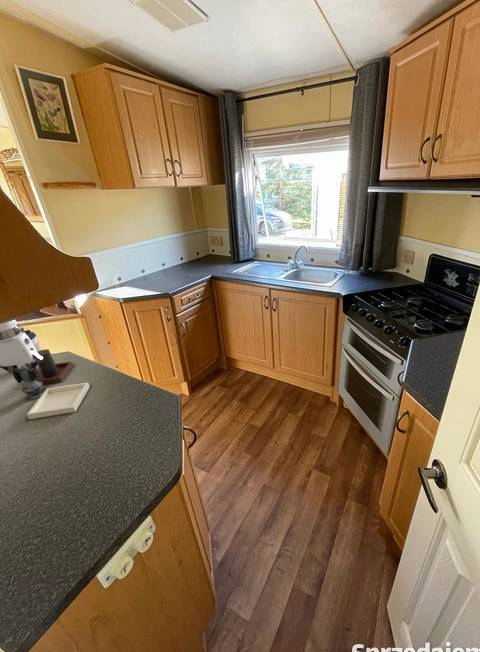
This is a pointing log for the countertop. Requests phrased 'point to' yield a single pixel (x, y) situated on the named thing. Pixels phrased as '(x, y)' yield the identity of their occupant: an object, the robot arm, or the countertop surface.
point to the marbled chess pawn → (31, 385)
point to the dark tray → (63, 371)
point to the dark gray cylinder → (47, 364)
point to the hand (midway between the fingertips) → (28, 379)
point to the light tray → (59, 400)
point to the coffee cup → (34, 341)
